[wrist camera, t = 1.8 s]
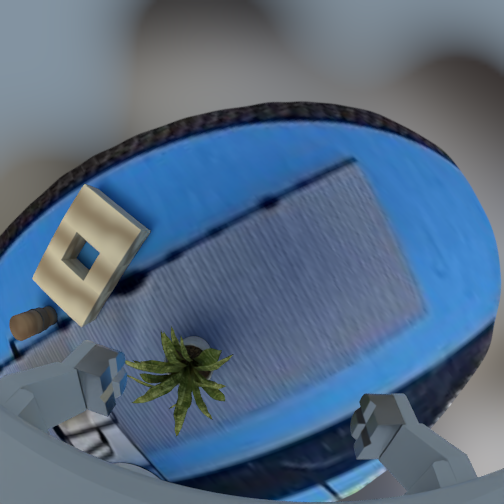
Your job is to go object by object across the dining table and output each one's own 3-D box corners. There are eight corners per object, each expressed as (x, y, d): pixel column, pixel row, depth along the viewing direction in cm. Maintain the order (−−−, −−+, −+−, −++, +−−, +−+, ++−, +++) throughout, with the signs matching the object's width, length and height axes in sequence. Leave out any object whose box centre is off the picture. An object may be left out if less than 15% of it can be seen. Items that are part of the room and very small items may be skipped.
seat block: (95, 319, 45) (81, 327, 40) (48, 275, 44) (32, 278, 39) (151, 231, 45) (141, 230, 40) (98, 189, 44) (84, 183, 39)
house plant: (196, 281, 46) (174, 302, 29) (260, 343, 46) (270, 391, 30) (137, 341, 45) (96, 382, 29) (199, 397, 46) (184, 457, 30)
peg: (53, 331, 45) (22, 346, 35) (38, 316, 45) (6, 328, 35) (62, 314, 45) (30, 327, 35) (46, 299, 45) (13, 309, 35)
